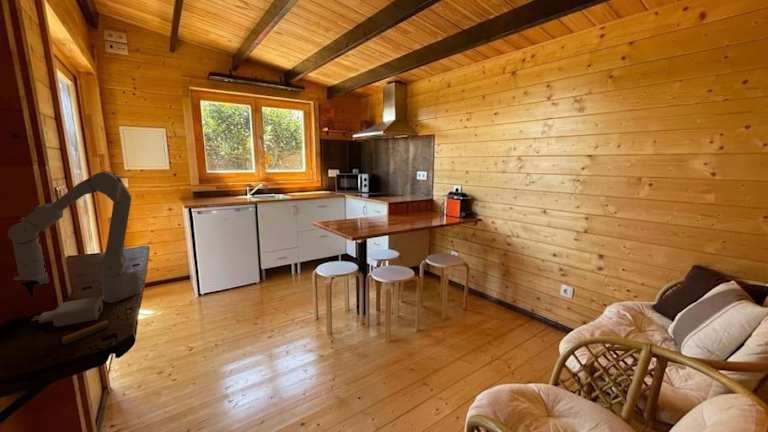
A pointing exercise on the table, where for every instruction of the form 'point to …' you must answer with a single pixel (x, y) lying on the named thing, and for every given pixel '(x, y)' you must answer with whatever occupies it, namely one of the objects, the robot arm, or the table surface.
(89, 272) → the table surface
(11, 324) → the table surface
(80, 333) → the brown stick
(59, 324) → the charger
